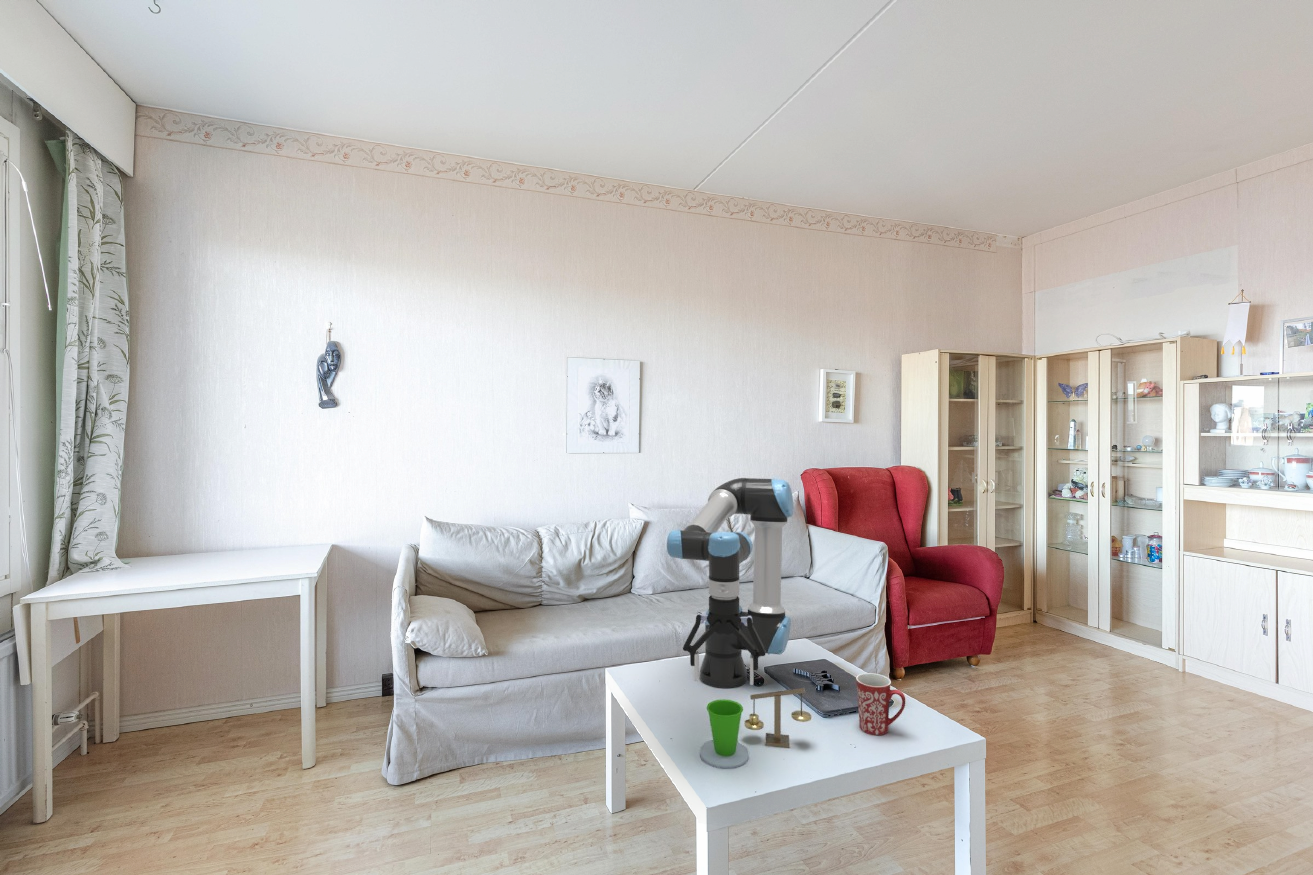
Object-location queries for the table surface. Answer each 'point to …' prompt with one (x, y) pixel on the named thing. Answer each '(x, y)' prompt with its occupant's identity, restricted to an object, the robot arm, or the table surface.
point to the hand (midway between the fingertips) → (724, 680)
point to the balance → (776, 717)
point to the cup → (725, 725)
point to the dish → (724, 762)
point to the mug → (875, 703)
